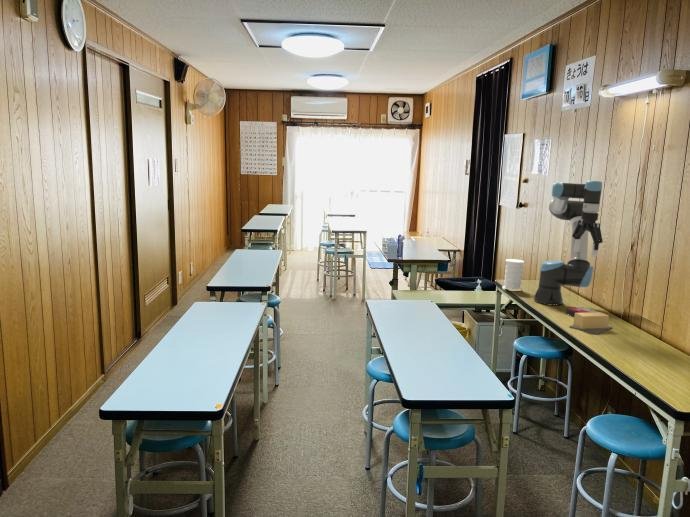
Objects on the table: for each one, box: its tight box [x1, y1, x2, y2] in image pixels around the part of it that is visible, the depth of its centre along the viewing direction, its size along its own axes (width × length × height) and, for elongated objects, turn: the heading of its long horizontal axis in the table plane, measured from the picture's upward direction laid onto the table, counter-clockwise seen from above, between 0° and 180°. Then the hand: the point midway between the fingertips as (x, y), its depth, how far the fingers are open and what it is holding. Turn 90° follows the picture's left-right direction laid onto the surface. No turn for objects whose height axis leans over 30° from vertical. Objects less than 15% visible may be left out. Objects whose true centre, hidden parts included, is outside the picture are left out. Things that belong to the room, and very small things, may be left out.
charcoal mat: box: [569, 324, 613, 335], centre depth 255 cm, size 17×13×1 cm
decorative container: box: [501, 258, 525, 291], centre depth 327 cm, size 12×12×18 cm
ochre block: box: [572, 311, 610, 329], centre depth 254 cm, size 6×6×14 cm
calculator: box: [565, 306, 605, 317], centre depth 273 cm, size 11×4×15 cm
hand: (584, 254), depth 272 cm, fingers open, 13 cm apart
